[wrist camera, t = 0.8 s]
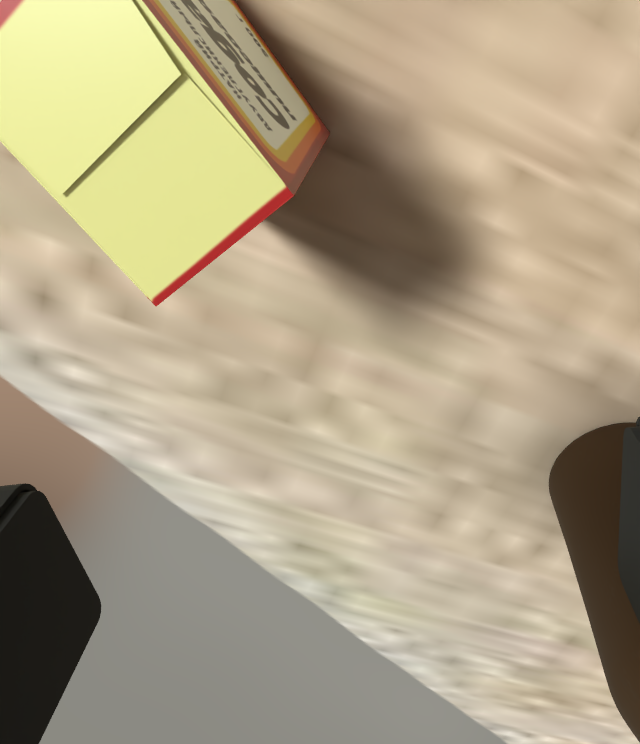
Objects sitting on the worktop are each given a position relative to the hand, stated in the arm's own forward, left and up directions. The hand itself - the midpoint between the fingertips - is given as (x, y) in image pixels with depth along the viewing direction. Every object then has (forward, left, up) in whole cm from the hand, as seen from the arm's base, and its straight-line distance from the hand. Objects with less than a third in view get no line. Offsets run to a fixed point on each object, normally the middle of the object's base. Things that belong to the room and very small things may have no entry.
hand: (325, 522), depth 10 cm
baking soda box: (-3, -8, -28) cm, 29 cm away
